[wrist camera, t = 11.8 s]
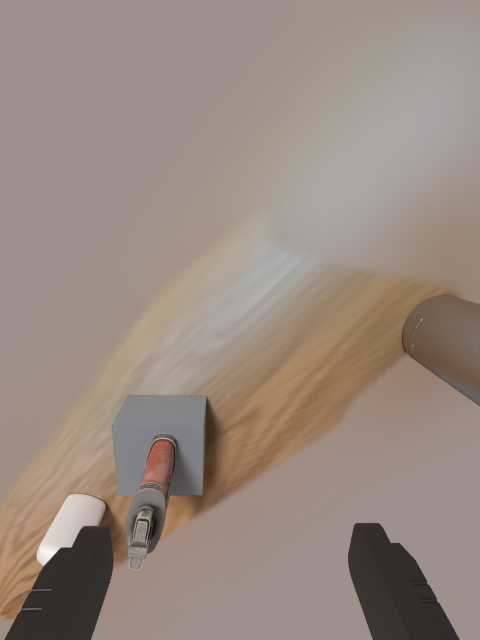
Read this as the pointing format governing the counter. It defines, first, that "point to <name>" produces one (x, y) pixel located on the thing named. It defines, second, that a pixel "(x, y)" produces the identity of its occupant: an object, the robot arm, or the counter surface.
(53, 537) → the eye dropper bottle
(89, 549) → the robot arm
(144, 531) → the lighter
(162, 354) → the counter surface
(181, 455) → the pedestal block
